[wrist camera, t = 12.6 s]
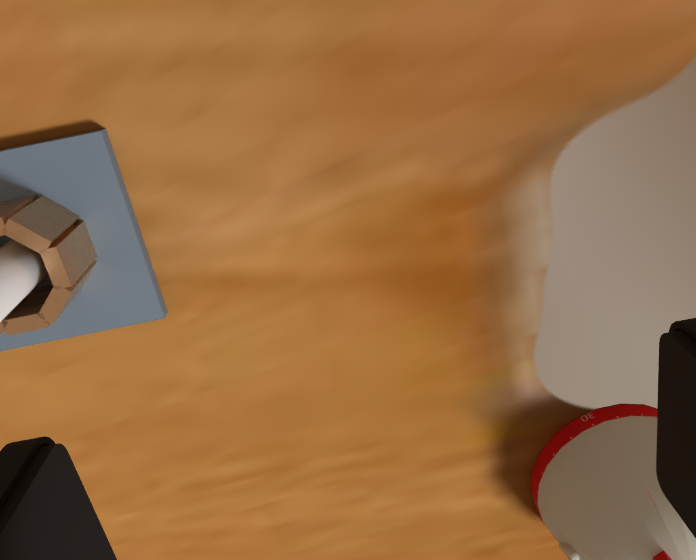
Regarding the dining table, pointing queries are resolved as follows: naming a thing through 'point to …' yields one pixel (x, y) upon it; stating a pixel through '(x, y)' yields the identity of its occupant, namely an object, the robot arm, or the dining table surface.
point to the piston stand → (104, 229)
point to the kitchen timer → (609, 489)
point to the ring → (47, 258)
